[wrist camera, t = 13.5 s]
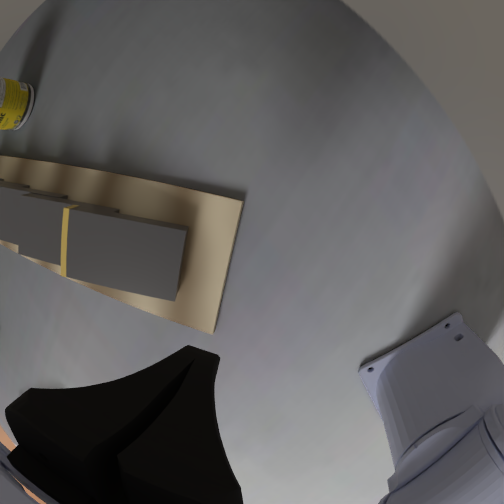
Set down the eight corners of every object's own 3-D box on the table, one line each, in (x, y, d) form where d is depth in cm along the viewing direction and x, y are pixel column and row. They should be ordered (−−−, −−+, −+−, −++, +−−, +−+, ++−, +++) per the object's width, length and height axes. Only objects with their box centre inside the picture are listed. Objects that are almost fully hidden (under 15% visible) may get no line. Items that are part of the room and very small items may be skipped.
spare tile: (186, 230, 18) (63, 207, 17) (174, 301, 20) (60, 275, 18) (188, 225, 20) (73, 204, 18) (177, 292, 21) (70, 268, 20)
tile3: (58, 197, 20) (-9, 185, 18) (54, 255, 21) (-11, 236, 19) (67, 195, 21) (0, 183, 20) (63, 250, 22) (-2, 232, 21)
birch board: (244, 201, 20) (242, 201, 19) (214, 331, 22) (212, 334, 21) (-14, 153, 23) (-17, 153, 22) (-19, 230, 25) (-22, 230, 25)
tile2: (112, 212, 19) (20, 195, 18) (106, 277, 20) (18, 253, 19) (119, 209, 20) (30, 193, 19) (112, 270, 22) (28, 248, 20)
